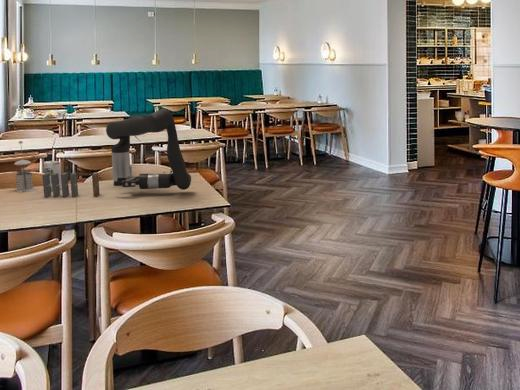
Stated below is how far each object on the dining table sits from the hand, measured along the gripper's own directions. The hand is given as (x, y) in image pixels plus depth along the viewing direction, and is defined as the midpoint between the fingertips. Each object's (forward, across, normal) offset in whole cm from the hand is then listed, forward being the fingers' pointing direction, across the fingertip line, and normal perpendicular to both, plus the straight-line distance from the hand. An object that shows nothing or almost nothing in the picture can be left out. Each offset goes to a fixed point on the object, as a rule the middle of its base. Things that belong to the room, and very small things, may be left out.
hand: (115, 181), depth 271 cm
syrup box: (+35, -16, +7) cm, 39 cm away
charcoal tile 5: (+33, 0, +7) cm, 33 cm away
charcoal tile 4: (+28, 0, +7) cm, 29 cm away
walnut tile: (+10, 0, +6) cm, 12 cm away
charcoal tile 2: (+20, 0, +7) cm, 21 cm away
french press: (+49, -17, +7) cm, 52 cm away
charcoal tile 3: (+24, 0, +7) cm, 25 cm away
